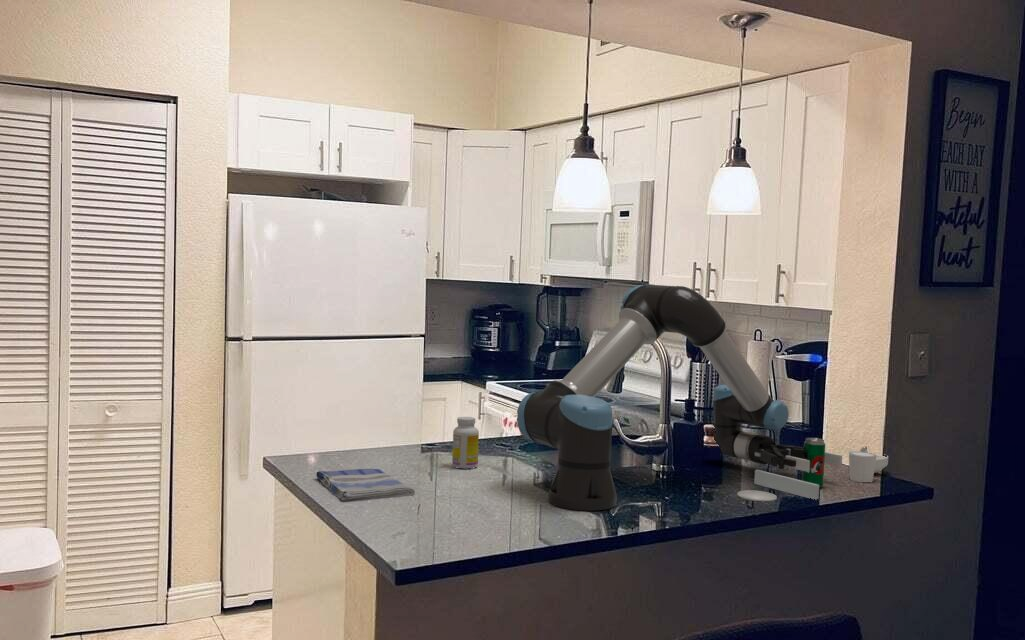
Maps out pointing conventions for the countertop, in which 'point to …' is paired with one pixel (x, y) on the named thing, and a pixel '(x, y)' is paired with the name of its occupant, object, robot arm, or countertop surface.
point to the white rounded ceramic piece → (880, 460)
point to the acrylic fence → (787, 484)
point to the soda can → (814, 460)
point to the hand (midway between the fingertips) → (825, 463)
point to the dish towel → (363, 484)
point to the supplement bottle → (465, 443)
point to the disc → (757, 495)
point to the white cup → (862, 466)
